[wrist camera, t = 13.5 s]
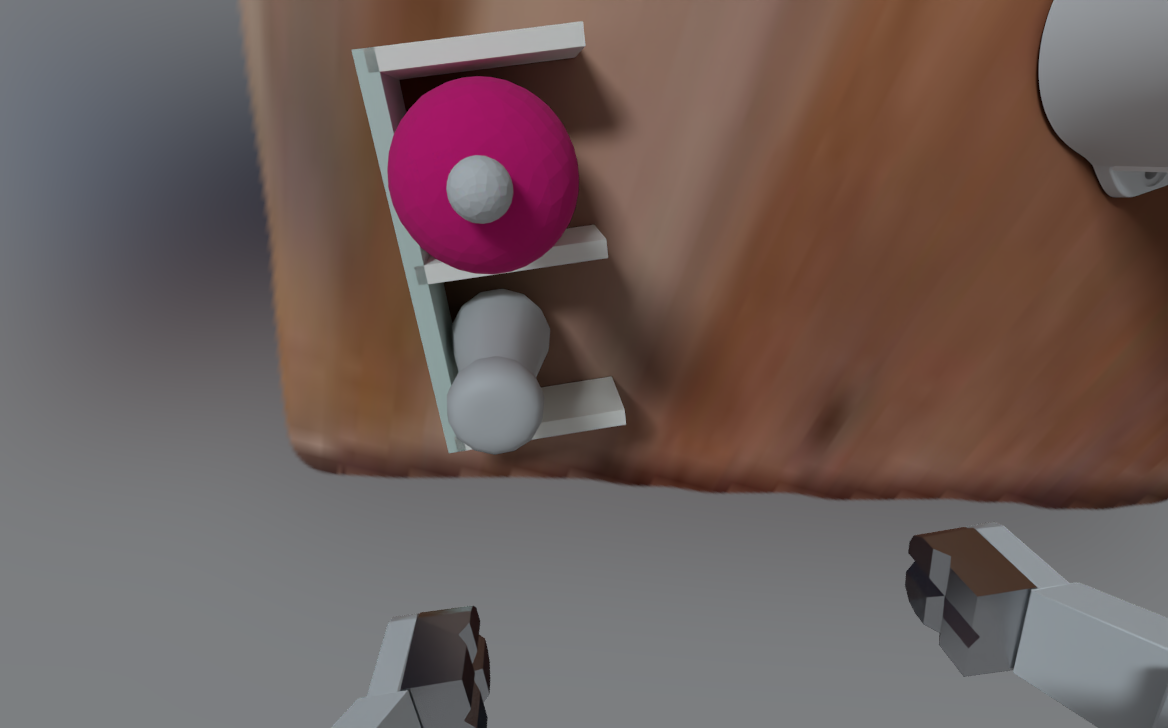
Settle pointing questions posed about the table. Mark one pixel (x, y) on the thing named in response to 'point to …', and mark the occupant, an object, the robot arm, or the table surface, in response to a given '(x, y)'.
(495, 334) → the salt shaker
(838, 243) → the table surface
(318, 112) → the table surface
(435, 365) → the condiment rack
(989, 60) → the table surface
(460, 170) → the pepper mill
